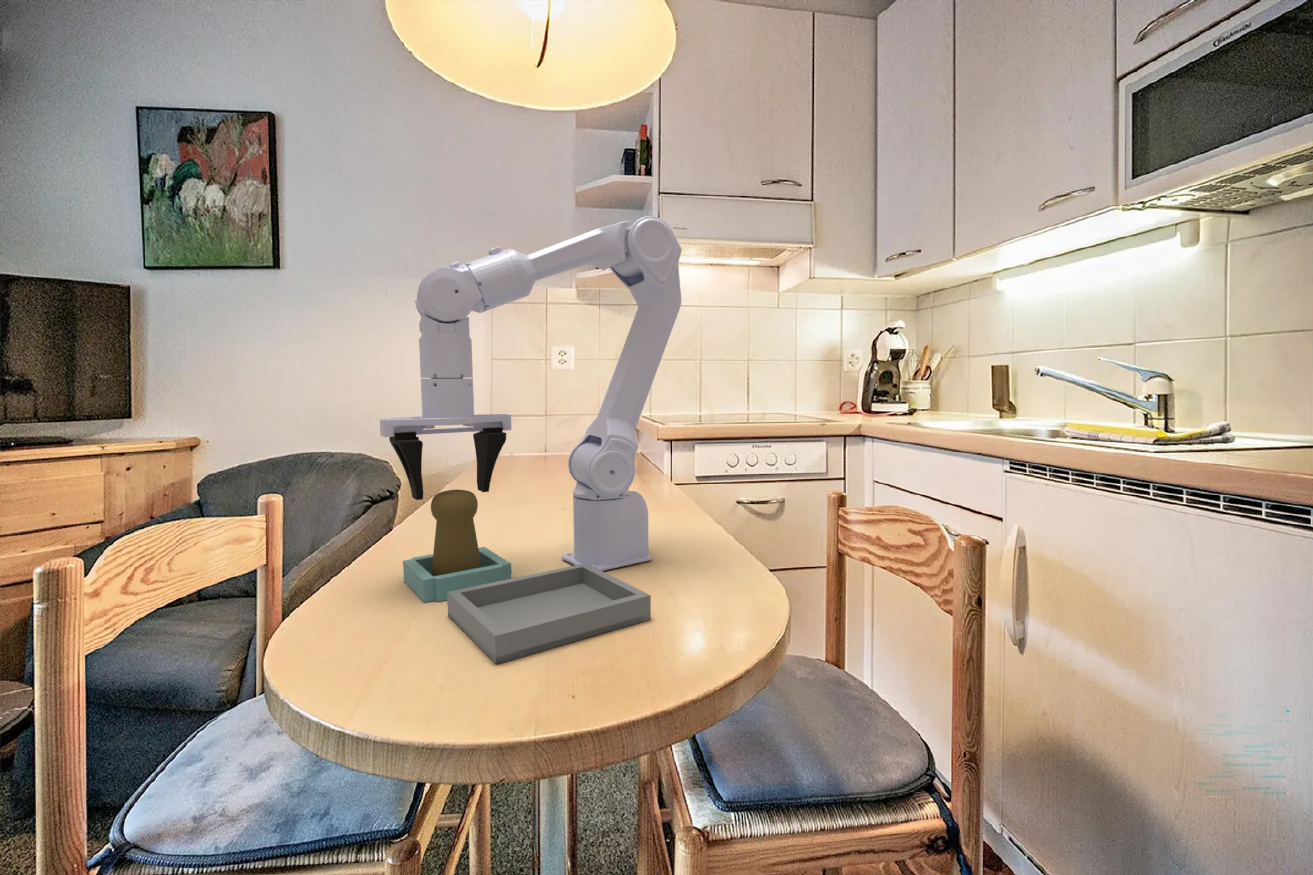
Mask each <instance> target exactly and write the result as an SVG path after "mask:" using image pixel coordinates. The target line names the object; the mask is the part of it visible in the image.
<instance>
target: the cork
mask: <svg viewBox="0 0 1313 875" xmlns="http://www.w3.org/2000/svg"><path fill="white" fill-rule="evenodd" d="M477 511H478V499H477V496H476V494H474V492H472V491H470V490H466V489H449V490H444V491H440V492H437V493H436V494H435V495H434V496H433V497H432V499H431V503H430V512H431V515H432V517H433V518H434V519H435V521H436V524H435V534H434V543H433V553H432V554H433V562H432V572H431V575H432V576H433V577H434V576H439V575H444V574H449V573H455V572H460V571H465V570H470V569H476V568H481V561H480V555H479V549H478V548H479V543H478V539H477V533H476V525H475V521H474V517H475V516H476V514H477Z"/></svg>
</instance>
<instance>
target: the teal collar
mask: <svg viewBox="0 0 1313 875" xmlns="http://www.w3.org/2000/svg"><path fill="white" fill-rule="evenodd" d="M478 549H479V555H480V561H481V568H476V569H470V570H465V571H460V572H455V573H449V574H444V575H439V576H434V577H433V576H432V575H431V572H432V562H433V553H432V554H426V555H420V556H413V557H412V558H410V559H405V560H403V561H402V565H403V566H402V568H403V582H404V583H405V584H406V585H407V586H408V587H409V588H410V590H412V592H414V594H415V595H416V596H417V597H418V598H419V599H420V600H421V601H422V602H423V603H424V604H425V603H430V602H434V601H436V603H438V602H444V601H447V592H450V591H454V590H459V589H464V588H469V587H474V586H478V585H483V584H488V583H493V582H498V581H503V580H507V579H512V563H511V562H510V561H508V560H506V559H505V558H503V557H502V556H500V555H498V554H497V553H495V552H493V551H492V550H491V549H489V548H487V547H486V546H481V547H478Z"/></svg>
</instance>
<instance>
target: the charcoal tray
mask: <svg viewBox="0 0 1313 875" xmlns="http://www.w3.org/2000/svg"><path fill="white" fill-rule="evenodd" d="M511 578H512V577H511ZM651 596H652V595H651V594H648V593H647V592H645V591H643V590H641V589H638V588H637V587H635V586H633V585H631V584H629V583H627V582H624V581H623V580H621V579H618V578H617V577H616V576H612V575H610V574H608V573H607V572H604V571H601V570H599V569H597V568H595V567H593V566H591V565H588V564H586V563H584V564H580V565H571V566H566V567H561V568H557V569H552V570H547V571H542V572H537V573H532V574H528V575H523V576H518V577H513V578H512V579H507V580H503V581H498V582H493V583H488V584H483V585H478V586H474V587H469V588H464V589H459V590H454V591H450V592H447V600H446V601H447V616H448V617H449V619H450V620H451V621H452V622H453V623H454V624H455V625H456V626H457V627H458V628H459V629H460V630H461V631H462V632H463V633H464V634H465V635H466V636H467V637H468V638H469V639H470V640H471V641H472V642H473V643H474V645H476V646H477V647H478V648H479V649H480V651H482V653H484V654H485V655H486V656H487V657H488V659H490V660H491V662H492V663H494V665H499V664H503V663H506V662H509V661H510V662H511V661H513V660H516V659H521V658H523V657H528V656H529V655H533V654H538V653H541V652H544V651H548V650H550V649H554V648H558V647H561V646H565V645H568V644H572V643H575V642H579V641H582V640H585V639H589V638H592V637H595V636H599V635H603V634H606V633H609V632H613V631H616V630H620V629H624V628H627V627H630V626H634V625H637V624H641V623H644V622H646V621H647V622H648V621H651V619H652V617H651V616H652V614H651V612H652V611H651V606H652V605H651V602H652V601H651V600H652V599H651V598H652V597H651Z"/></svg>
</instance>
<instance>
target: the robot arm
mask: <svg viewBox="0 0 1313 875" xmlns="http://www.w3.org/2000/svg"><path fill="white" fill-rule="evenodd" d="M630 223H632V220H625V221H620V222H616V223H614V224H609V225H605V226H602V227H599V228H595V229H592V230H590V231H587V232H585V233H582V234H579V235H576V236H574V237H571V238H569V239H566V240H563V241H561V242H558V243H556V244H553V245H551V246H548V247H545V248H543V249H539V250H537V251H534V252H532V253H529V254H524V253H521V252H520V251H517V250H515V249H513V248H508V249H505V250H502V247H501V246H495V247H493V248H490V249H489V251H488V255H487V256H484V257H481V258H478V259H474V260H471V261H469V262H466V263H462V264H460V262H459V261H454V262H451V263H450V264H449V266H439V267H437V268H436V269H435V270H434V271H431V272H430V273H428V274H426V275H425V276H424V277H423V278H422V280H421V281H420V283H419V286H418V288H417V293H416V299H415V300H414V303H415V307H416V310H417V312H418V314H419V315H420V320H419V323H418V324H419V326H418V327H419V332H420V333H421V334H420V335H421V336H420V337H419V339H418V346H419V347H418V348H419V349H418V351H419V369H420V370H419V372H420V394H421V415H422V416H408V417H407V416H406V417H392V418H380V419H379V428H380V429H379V430H380V432H379V433H380V436H381V437H383V438H388V439H389V442H390V445H391V446H392V448H393V450H394V451H395V453H396V455H397V457H398V458H399V461H400V463H401V465H402V467H403V470H404V472H405V474H406V477H407V480H408V483H409V487H410V494H411V498H413V499H415V500H416V501H419V500H424V485H423V484H424V483H423V475H422V474H423V473H422V462H423V461H422V460H423V459H422V458H423V457H422V456H423V446H424V442H423V441H422V440H421V439H419V438H420V437H419V436H418V435H420V436H421V435H433V434H434V435H435V434H437V435H438V434H439V435H440V434H454V433H456V434H457V433H473V432H474V433H473V434H472V436H473V444H474V450H475V459H476V485H477V486H476V487H477V491H480V492H481V493H488V492H489V493H490V485H491V480H492V477H493V472H494V469H495V465H496V462H497V459H498V457H499V455H500V453H501V451H502V449H503V447H504V445H505V443H506V441H507V432H504V431H512V414H508V413H494V414H493V413H492V414H489V413H488V414H475V405H474V404H475V403H474V401H475V400H474V372H473V348H472V347H473V346H472V343H473V342H472V339H471V337H470V317H469V315H470V313H471V312H475V313H479V314H481V313H484V312H487V311H490V310H493V309H495V308H497V307H500V306H504V305H506V304H509V303H512V302H514V301H517V300H520V299H524V298H526V297H528V296H529V295H531V292H532V290H533V287H534V286H535V283H536V282H537V281H540V280H544V279H545V278H546V279H547V278H549V277H552V276H556V275H559V274H562V273H566V272H569V271H571V270H574V269H579V268H581V267H583V266H587V265H591V266H594V267H595V268H597V269H599V270H601V271H606V270H609V269H610V271H611V272H612V274H613V275H614V276H615V277H616V278H617V279H618V280H619V281H620V282H621V283H622V284H623V286H625V288H627V289H628V290H629V291H630V293H631V295H632V296H633V297H632V298H633V299H634V301H635V303H636V305H637V310H636V312H635V315H634V318H633V321H632V322H631V326H630V328H629V331H628V334H627V337H626V339H625V342H624V344H623V348H622V349H621V352H620V355H619V358H618V361H617V363H616V366H615V369H614V372H613V374H612V377H611V379H610V381H609V384H608V387H607V390H606V393H605V395H604V398H603V401H602V404H601V406H600V409H599V412H598V414H597V417H596V418H595V419H594V420H593V421H592V423H591V424H590V425H589V426H588V427H587V428H586V430H585V432H584V433H585V434H584V436H583V438H582V439H581V441H580V442H579V443H578V444H577V445H576V446H574V448H573V449H572V451H571V452H570V454H569V457H568V461H567V466H568V472H569V474H570V477H572V479H573V480H574V481H575V482H576V483H575V484H576V485H575V487H574V489H573V491H572V502H573V503H572V507H573V510H572V511H573V512H572V513H573V517H572V518H573V552H570V553H564V554H561V559H562V560H563V561H566V562H568V563H570V564H571V565H572V566H575V565H580V564H584V563H586V564H588V565H591V566H593V567H595V568H597V569H599V570H601V571H603V572H604V571H607V570H612V569H617V568H621V567H626V566H630V565H634V564H640V563H643V562H649V561H651V560H653V558H652V557H653V556H652V555H650V554H649V509H648V504H647V503H646V500H645V498H644V497H643V495H642V494H641V493H640V492H638V491H636V490H630V489H629V488H630V487H631V485H632V484H633V482H634V479H635V475H636V466H635V458H636V453H637V451H638V448H639V443H638V437H637V433H636V428H637V426H638V423H639V420H640V418H641V415H642V412H643V410H644V407H645V404H646V402H647V398H648V396H649V393H650V390H651V389H652V388H651V387H652V385H653V384H654V383H653V382H654V379H655V378H656V374H657V372H658V368H659V366H660V363H661V360H662V358H663V356H664V353H665V350H666V347H667V345H668V342H669V339H670V336H671V334H672V331H673V328H674V325H675V323H676V320H677V318H678V314H679V312H680V309H681V305H682V292H681V281H680V270H679V267H680V266H679V262H680V258H681V253H682V250H683V249H682V247H681V246H680V243H679V242H678V240H677V237H676V235H675V234H674V231H673V230H672V228H671V227H670V225H669V224H668V223H667V222H666V221H665V220H664V219H663V218H660V217H657V216H653V215H648V216H643V217H641V218H640V217H639V219H637V220H636V221H635V222H633V224H632V225H631V226H629V224H630ZM628 226H629V227H628ZM627 227H628V228H627ZM461 425H462V426H463V427H451V428H435V427H436V426H437V427H438V426H461Z"/></svg>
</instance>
